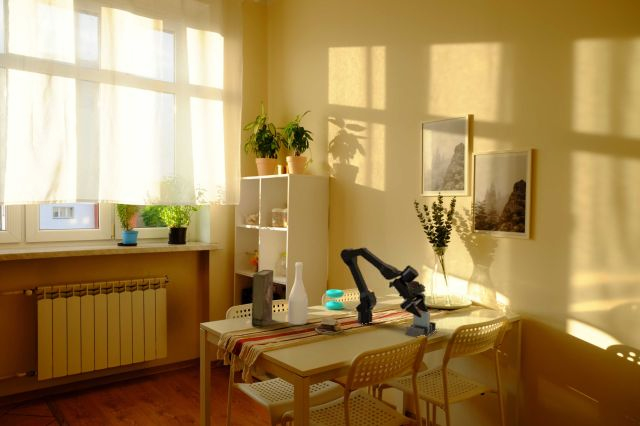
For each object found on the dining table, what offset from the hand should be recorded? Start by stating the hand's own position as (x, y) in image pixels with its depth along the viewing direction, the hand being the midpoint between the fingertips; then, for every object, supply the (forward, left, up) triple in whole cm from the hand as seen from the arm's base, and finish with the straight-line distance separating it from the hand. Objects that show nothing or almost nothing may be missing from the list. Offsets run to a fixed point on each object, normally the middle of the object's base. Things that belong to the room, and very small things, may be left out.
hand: (424, 315), depth 239 cm
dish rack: (-1, +1, -9) cm, 9 cm away
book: (-66, +41, -9) cm, 79 cm away
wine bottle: (-50, +36, -9) cm, 62 cm away
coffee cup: (+27, +51, -9) cm, 59 cm away
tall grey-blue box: (-1, +1, -8) cm, 8 cm away
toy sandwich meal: (-42, +18, -9) cm, 46 cm away
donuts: (-18, +61, -9) cm, 64 cm away
